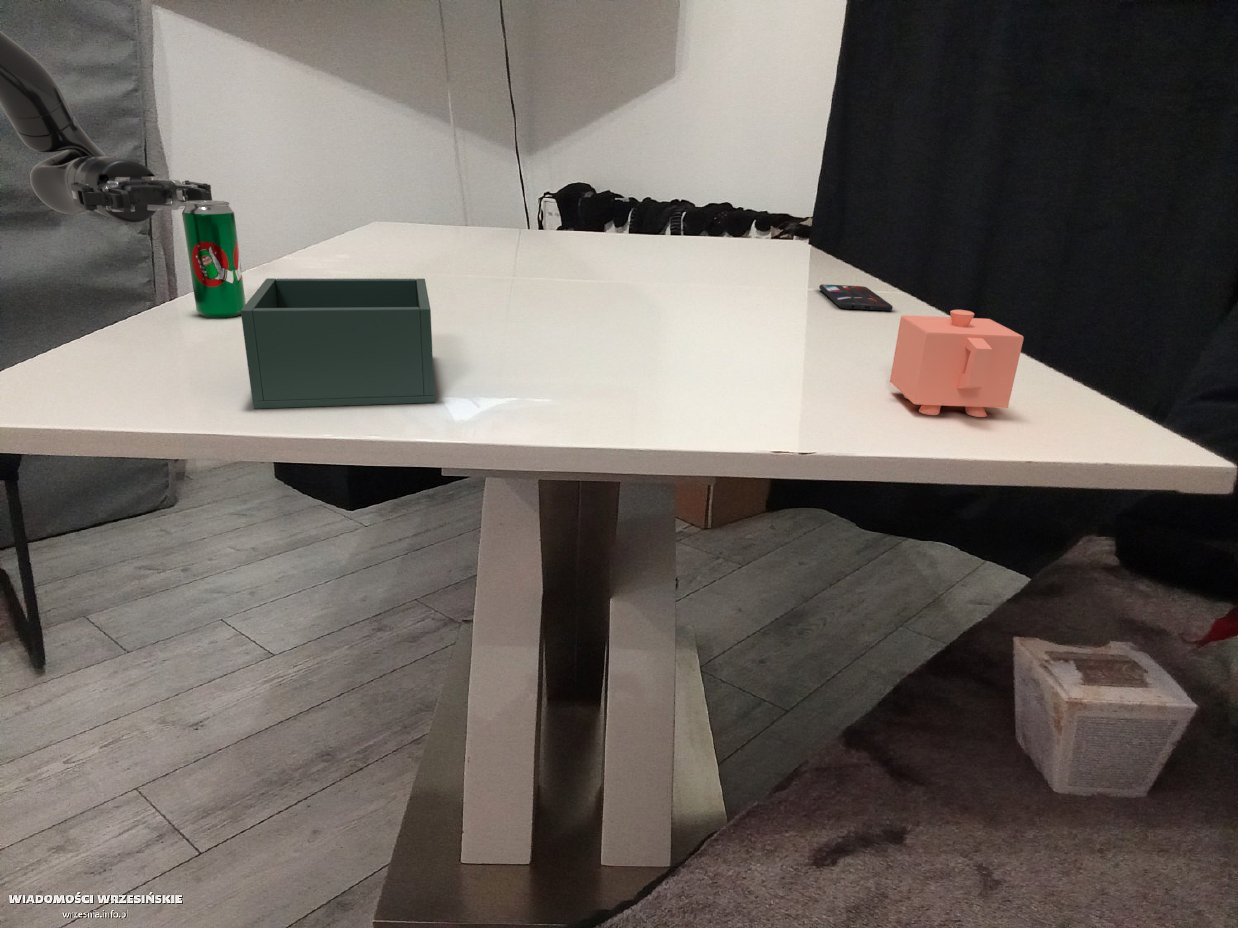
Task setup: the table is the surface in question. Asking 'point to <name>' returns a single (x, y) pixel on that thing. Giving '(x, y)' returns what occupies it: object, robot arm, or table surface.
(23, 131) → the robot arm
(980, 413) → the pink cube teapot
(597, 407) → the table surface
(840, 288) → the smartphone
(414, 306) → the bin
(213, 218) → the soda can
